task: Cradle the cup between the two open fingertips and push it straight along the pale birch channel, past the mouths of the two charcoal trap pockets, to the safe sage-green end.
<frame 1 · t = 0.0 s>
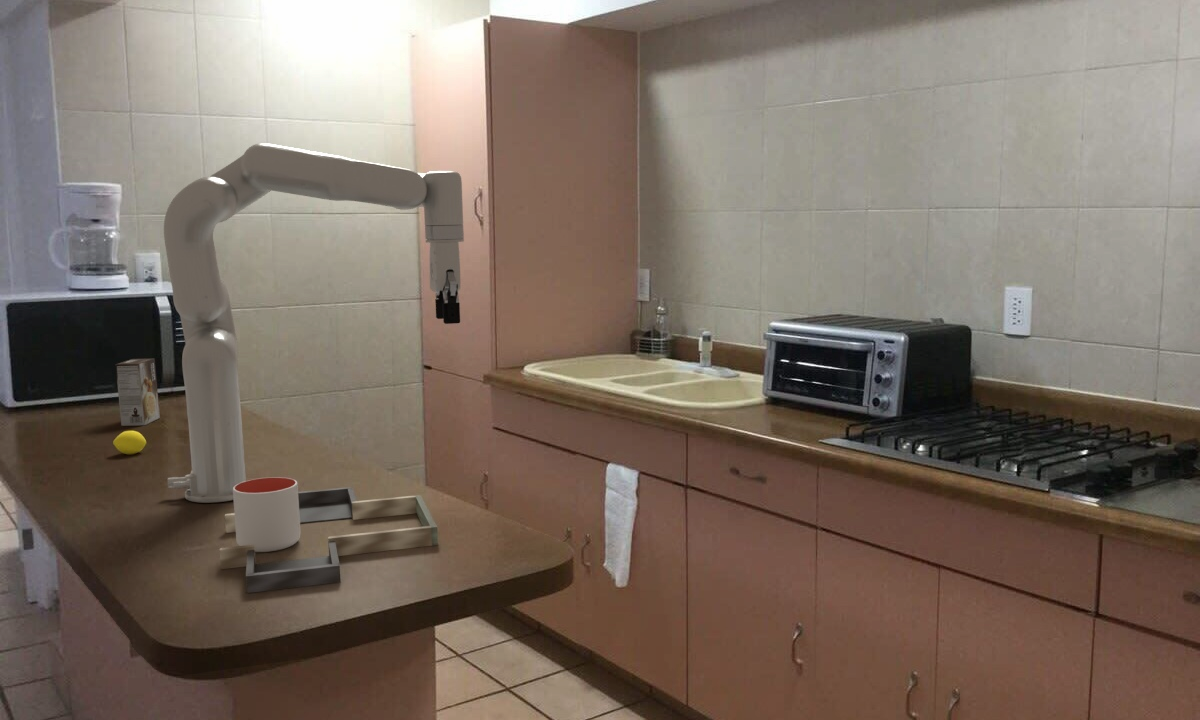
hand: (447, 320, 211), 31 cm above the table, tool pointing down, fingers open, 9 cm apart
cup: (269, 545, 172), on the table
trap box: (338, 536, 175), on the table
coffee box: (140, 422, 274), on the table
lemon: (130, 454, 238), on the table
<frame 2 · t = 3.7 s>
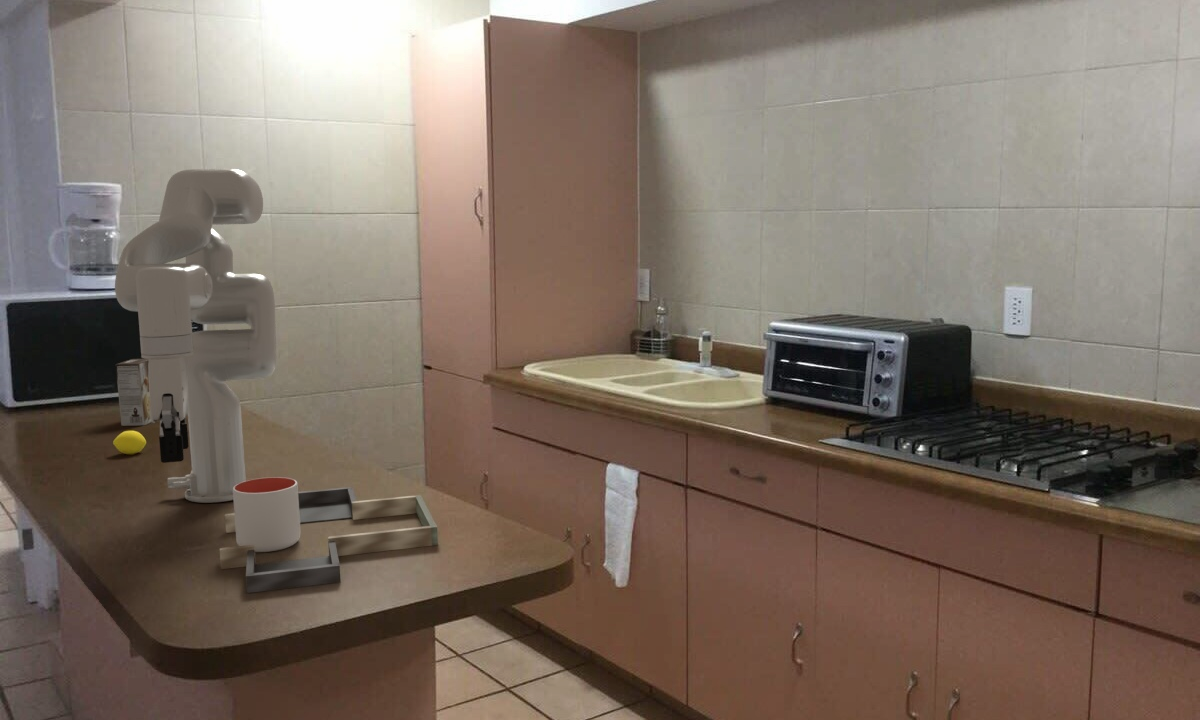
hand: (175, 455, 165), 16 cm above the table, tool pointing down, fingers open, 9 cm apart
nothing on the table moved.
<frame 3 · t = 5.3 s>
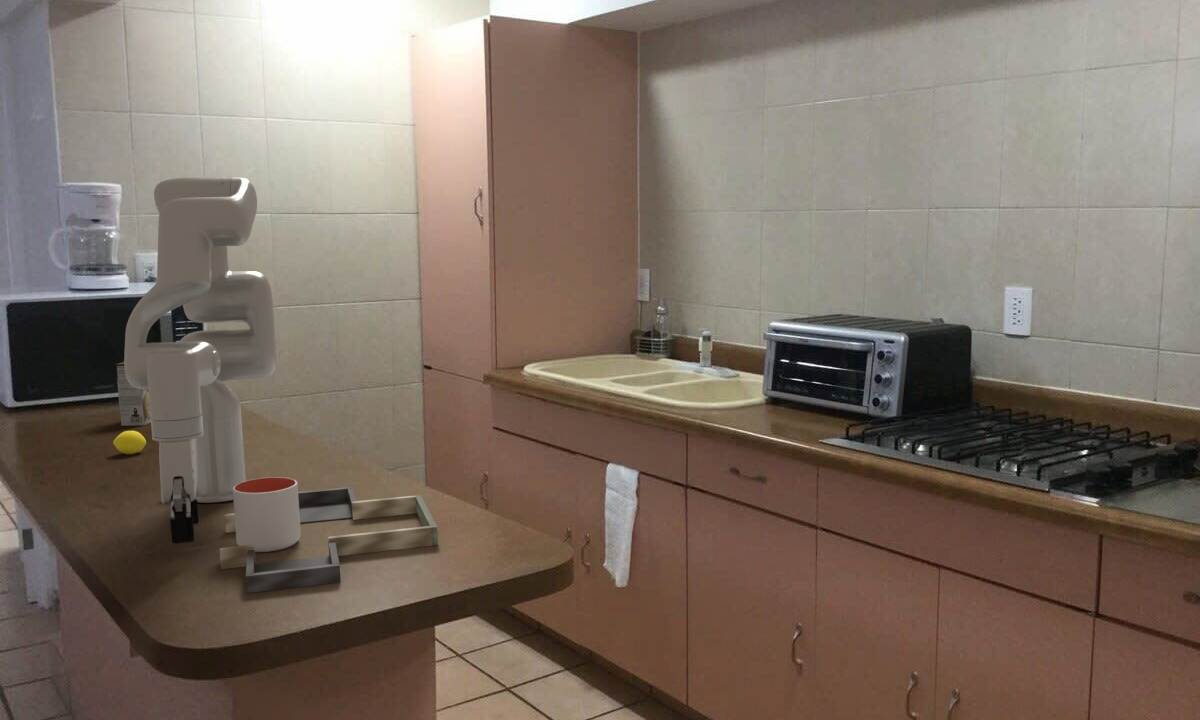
hand: (185, 533, 168), 3 cm above the table, tool pointing down, fingers open, 9 cm apart
nothing on the table moved.
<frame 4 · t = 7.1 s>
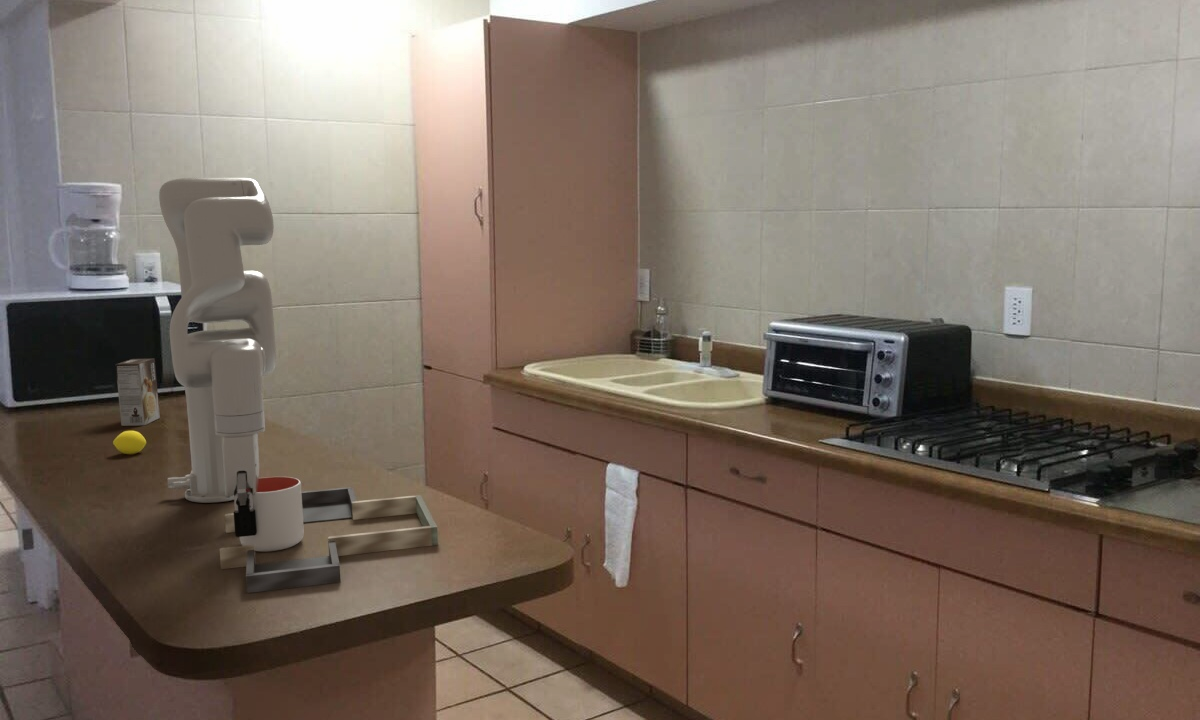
hand: (247, 526, 171), 3 cm above the table, tool pointing down
cup: (272, 545, 172), on the table, touching gripper
everything else where it was.
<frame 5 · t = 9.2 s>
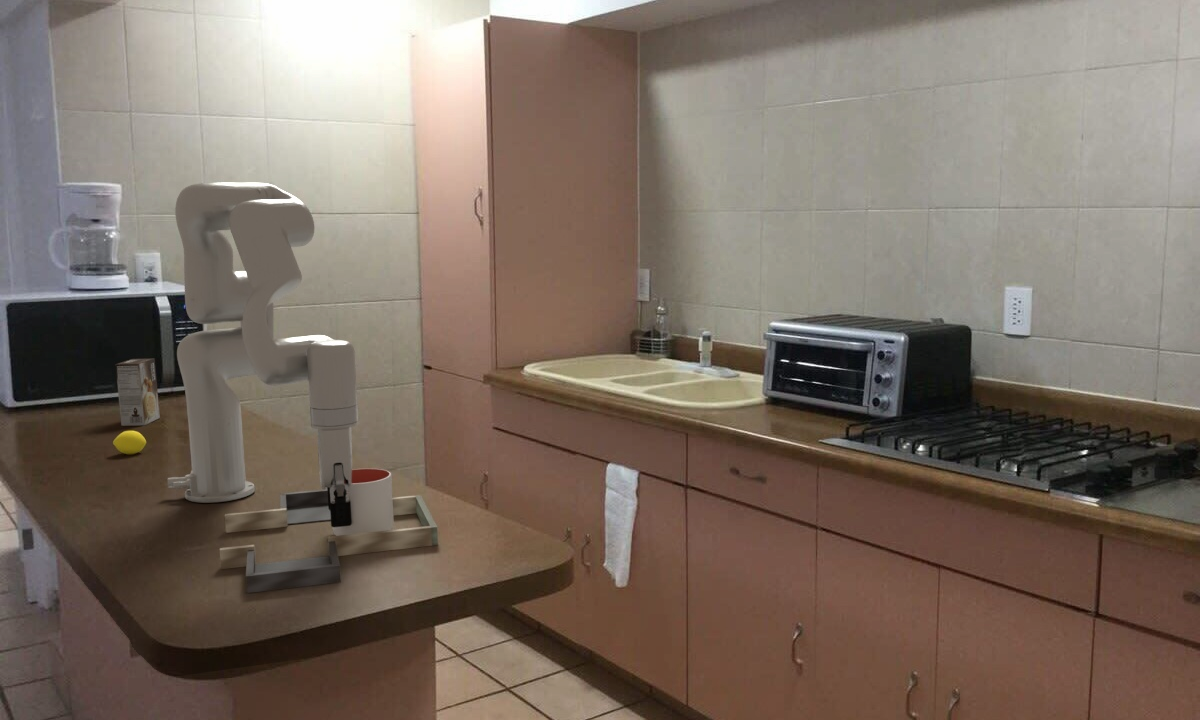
hand: (339, 517, 175), 3 cm above the table, tool pointing down
cup: (363, 535, 176), on the table, touching gripper
everything else where it was.
when the fingers open (3 cm above the table, at t = 11.2 s): cup stays where it is, on the table.
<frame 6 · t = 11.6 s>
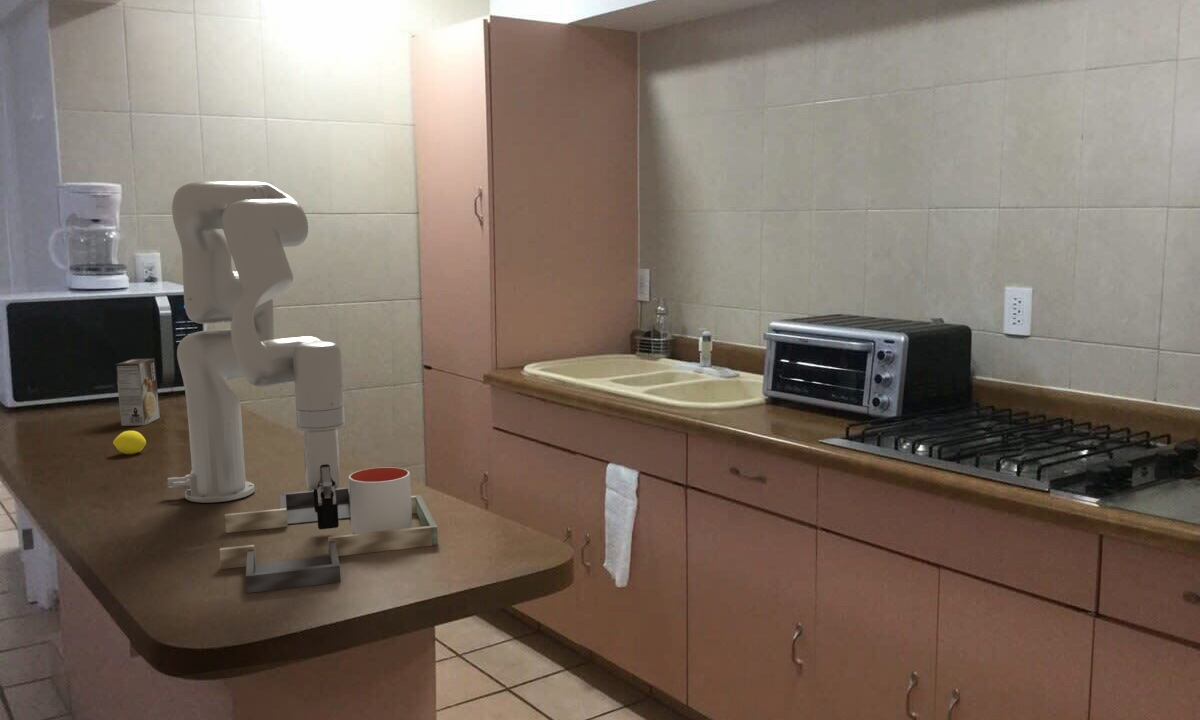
hand: (326, 519, 174), 3 cm above the table, tool pointing down, fingers open, 9 cm apart
cup: (382, 533, 177), on the table
everything else where it was.
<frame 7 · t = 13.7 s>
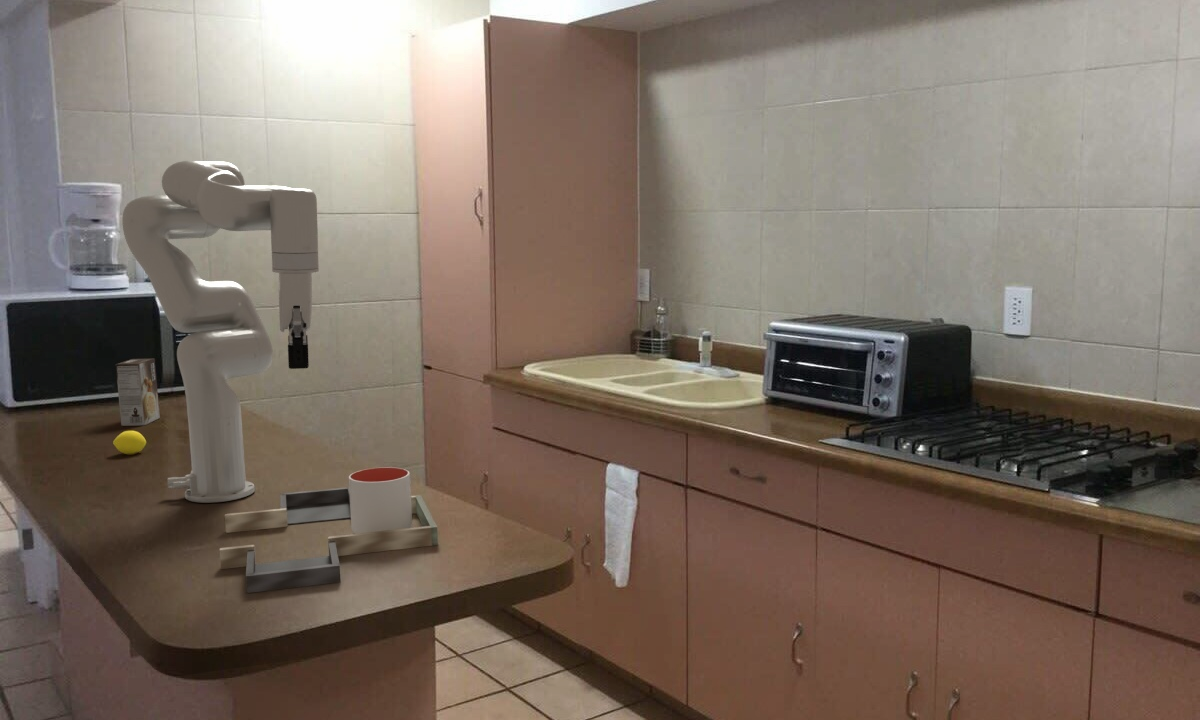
hand: (298, 362, 180), 28 cm above the table, tool pointing down, fingers open, 9 cm apart
nothing on the table moved.
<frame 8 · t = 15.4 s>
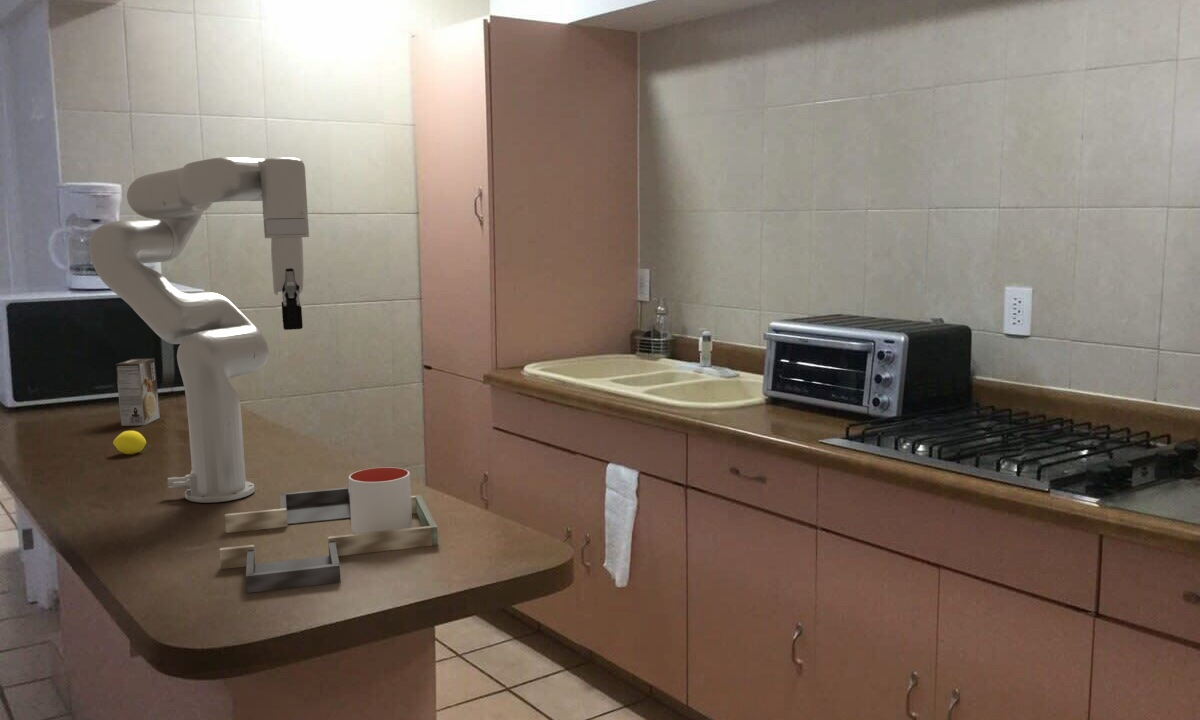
hand: (292, 326, 188), 33 cm above the table, tool pointing down, fingers open, 9 cm apart
nothing on the table moved.
at the end: cup inside the target area on the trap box (1.2 cm from its centre), point 0.0 cm above the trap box's base; cup tilted 0° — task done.
